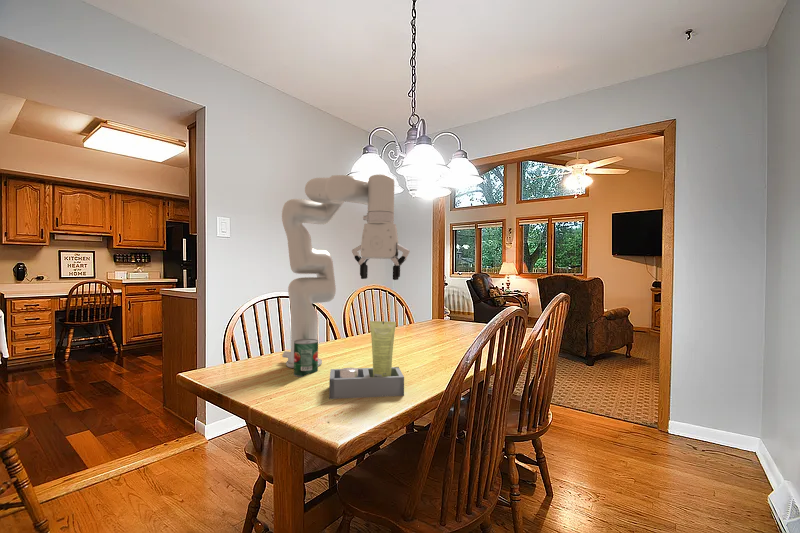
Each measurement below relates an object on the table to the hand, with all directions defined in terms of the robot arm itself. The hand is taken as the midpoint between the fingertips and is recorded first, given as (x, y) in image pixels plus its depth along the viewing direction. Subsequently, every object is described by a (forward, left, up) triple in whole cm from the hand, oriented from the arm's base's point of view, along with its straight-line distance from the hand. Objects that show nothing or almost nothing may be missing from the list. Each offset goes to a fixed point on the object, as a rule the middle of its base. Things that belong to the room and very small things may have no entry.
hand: (379, 279), depth 110 cm
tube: (+1, -1, -32) cm, 32 cm away
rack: (-3, -3, -32) cm, 33 cm away
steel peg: (-7, -5, -31) cm, 33 cm away
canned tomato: (-30, +9, -33) cm, 45 cm away
